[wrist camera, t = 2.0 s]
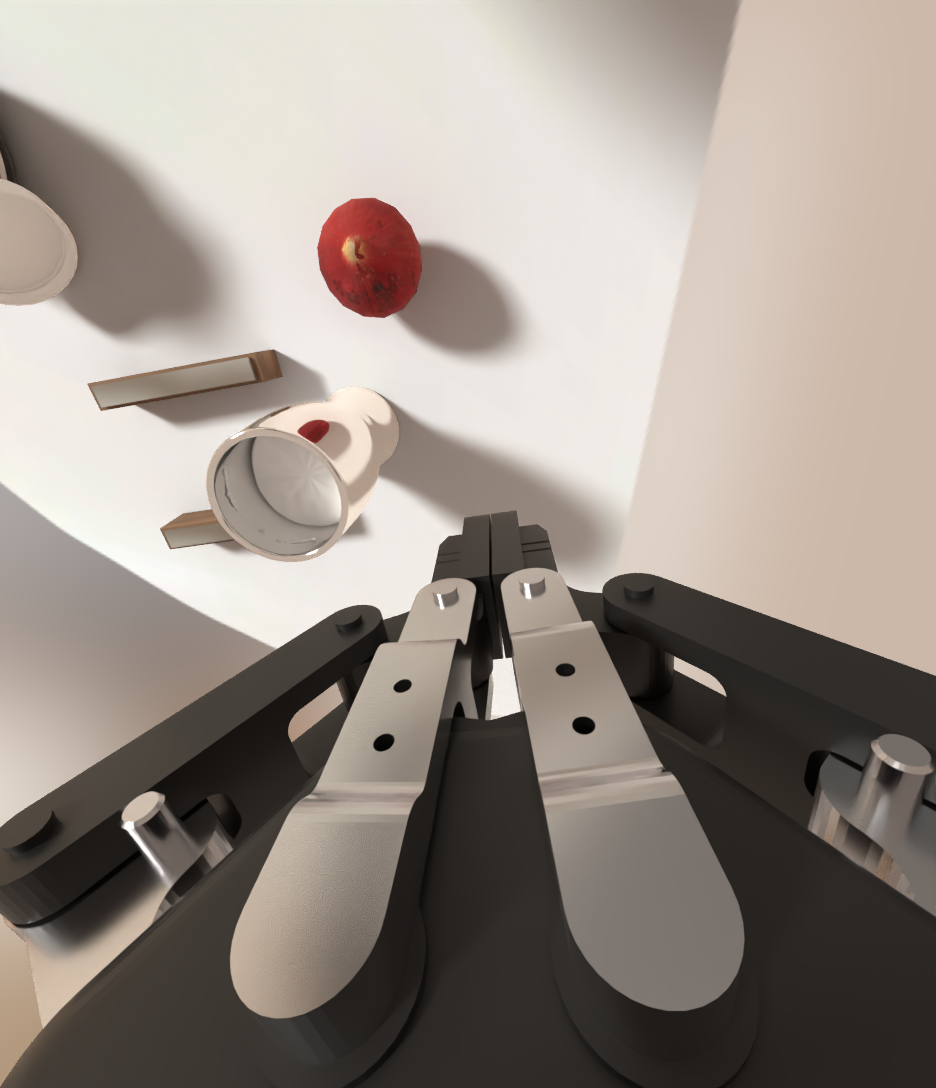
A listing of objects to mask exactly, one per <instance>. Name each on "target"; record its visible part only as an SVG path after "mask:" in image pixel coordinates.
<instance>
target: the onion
mask: <svg viewBox="0 0 936 1088" xmlns="http://www.w3.org/2000/svg"><path fill="white" fill-rule="evenodd" d="M317 248H318V257H319V265H320V271H321V273H322V275H323V277H324V279H325V281H326V284H327V286H328V288H329V290H330V291H331V292H332V294H333V295H334V296H335V297H336V298H337V299H338V300H339V302H340V303H341V304H342V305H343V306H345V307H346V308H348V309H350V310H352V311H354V312H356V313H358V314H360V315H362V316H365V317H379V318H385V317H387V316H389V315H391V314H393V313H396V312H398V311H400V310H402V309H403V308H404V307H405V306H406V305H407V303H408V302H409V301H410V299H411V298H412V297H413V296H414V294H415V293H416V292H417V288H418V284H419V280H420V275H421V271H422V265H421V254H420V246H419V244H418V241H417V239H416V237H415V234H414V232H413V230H412V227H411V225H410V224H409V223H408V222H407V221H406V219H405V218H404V217H403V216H402V215H401V214H400V213H399V211H398V210H397V209H396V208H395V207H393V206H391V205H389V204H386V203H384V202H382V201H380V200H378V199H376V198H361V199H351V200H350V201H348V202H346V203H344V204H343V205H341V206H339V207H338V208H336V209H335V210H334V211H333V213H332V214H331V215H330V217H329V218H328V219H327V221H326V222H325V224H324V225H323V227H322V231H321V235H320V239H319V243H318V247H317Z"/></svg>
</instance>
